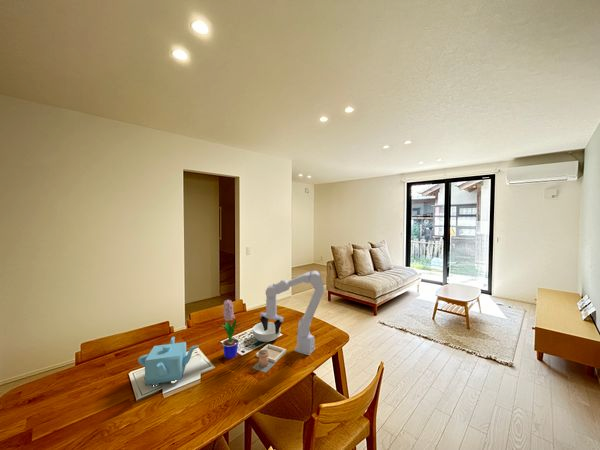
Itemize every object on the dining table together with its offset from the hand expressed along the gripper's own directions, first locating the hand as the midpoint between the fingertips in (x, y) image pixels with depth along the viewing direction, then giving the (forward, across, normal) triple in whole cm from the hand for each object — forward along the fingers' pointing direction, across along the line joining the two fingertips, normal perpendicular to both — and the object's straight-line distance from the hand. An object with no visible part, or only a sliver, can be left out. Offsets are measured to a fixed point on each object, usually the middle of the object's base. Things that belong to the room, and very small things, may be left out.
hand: (271, 331), depth 130 cm
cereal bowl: (+10, +9, -8) cm, 16 cm away
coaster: (+10, -6, +14) cm, 18 cm away
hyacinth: (+10, +15, +15) cm, 23 cm away
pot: (+9, -5, +14) cm, 17 cm away
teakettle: (+10, +28, +41) cm, 51 cm away
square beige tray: (+10, -3, +4) cm, 11 cm away
